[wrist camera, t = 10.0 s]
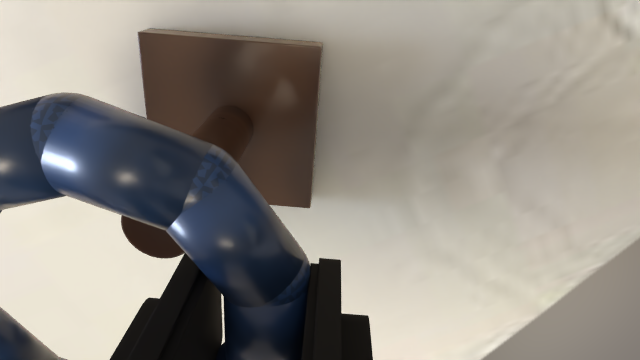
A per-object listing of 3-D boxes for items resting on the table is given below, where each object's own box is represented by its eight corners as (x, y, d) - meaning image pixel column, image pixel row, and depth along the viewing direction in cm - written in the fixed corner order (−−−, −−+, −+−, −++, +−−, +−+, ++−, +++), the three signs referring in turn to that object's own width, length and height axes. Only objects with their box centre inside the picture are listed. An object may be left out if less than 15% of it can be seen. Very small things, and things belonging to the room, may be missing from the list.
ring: (326, 102, 9) (323, 133, 7) (299, 423, 14) (293, 491, 12) (-145, 62, 9) (-266, 84, 7) (-15, 396, 14) (-69, 460, 12)
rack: (323, 42, 22) (307, 101, 12) (311, 196, 26) (292, 344, 15) (149, 28, 22) (-22, 74, 12) (164, 184, 26) (46, 322, 16)
